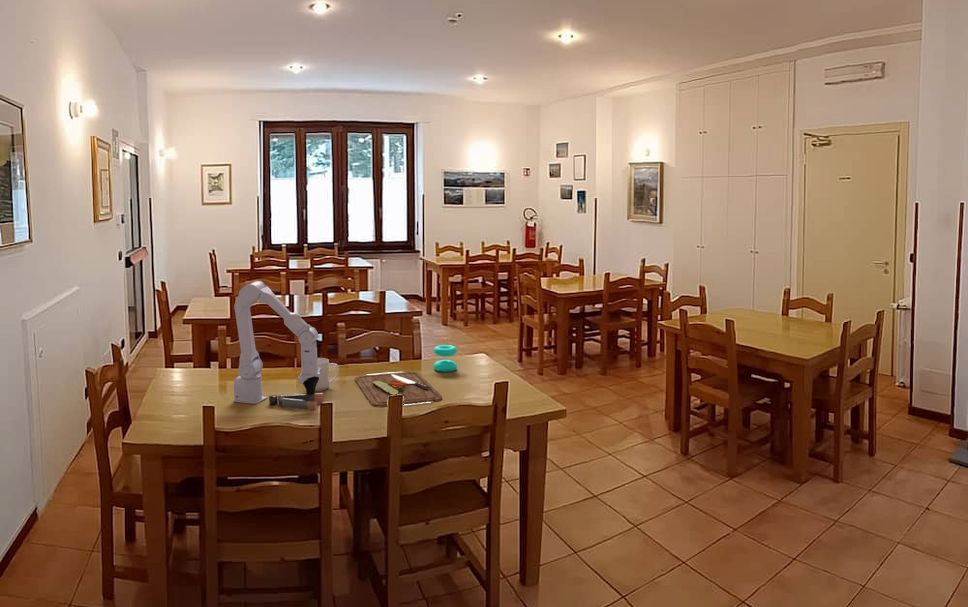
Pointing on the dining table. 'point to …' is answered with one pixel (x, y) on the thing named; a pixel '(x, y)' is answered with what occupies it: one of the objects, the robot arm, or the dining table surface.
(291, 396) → the bar
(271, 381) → the dining table surface
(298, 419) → the dining table surface
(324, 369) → the mug
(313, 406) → the base
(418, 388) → the chopping board
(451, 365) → the donuts
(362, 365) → the dining table surface
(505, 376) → the dining table surface
